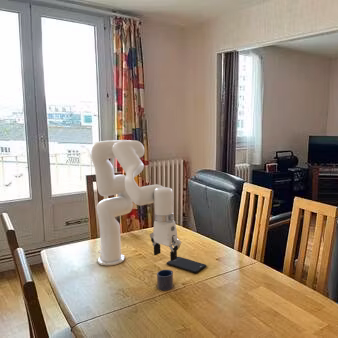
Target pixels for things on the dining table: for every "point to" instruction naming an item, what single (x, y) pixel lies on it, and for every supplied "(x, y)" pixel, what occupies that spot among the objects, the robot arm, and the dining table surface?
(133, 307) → the dining table surface
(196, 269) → the cell phone
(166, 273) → the blue plastic cup
